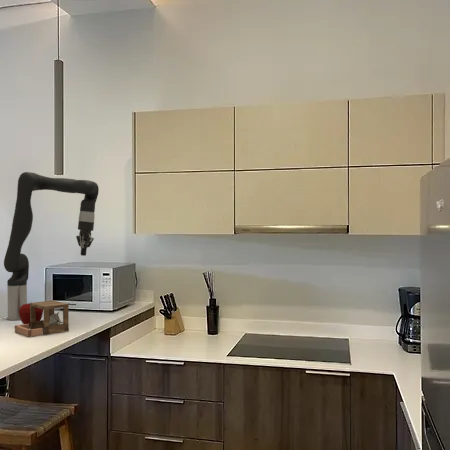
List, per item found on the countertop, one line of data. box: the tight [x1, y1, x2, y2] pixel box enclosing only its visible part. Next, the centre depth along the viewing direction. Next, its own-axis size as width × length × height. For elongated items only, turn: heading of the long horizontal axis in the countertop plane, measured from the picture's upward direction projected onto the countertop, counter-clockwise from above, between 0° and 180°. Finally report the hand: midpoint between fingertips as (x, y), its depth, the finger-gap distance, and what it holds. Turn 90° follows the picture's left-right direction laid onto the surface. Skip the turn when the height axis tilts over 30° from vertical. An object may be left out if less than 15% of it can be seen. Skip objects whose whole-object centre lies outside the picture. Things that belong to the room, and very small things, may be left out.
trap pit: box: [14, 323, 44, 338], centre depth 224 cm, size 15×6×3 cm, turn 44°
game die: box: [41, 312, 63, 326], centre depth 231 cm, size 9×8×10 cm
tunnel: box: [29, 299, 70, 336], centre depth 230 cm, size 16×11×12 cm
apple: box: [19, 302, 44, 328], centre depth 241 cm, size 11×11×12 cm
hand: (83, 255), depth 253 cm, fingers closed
